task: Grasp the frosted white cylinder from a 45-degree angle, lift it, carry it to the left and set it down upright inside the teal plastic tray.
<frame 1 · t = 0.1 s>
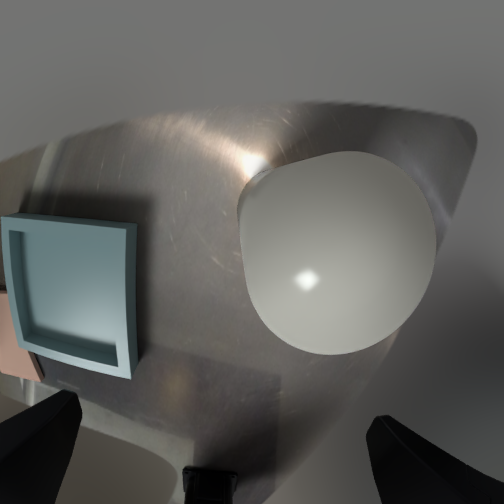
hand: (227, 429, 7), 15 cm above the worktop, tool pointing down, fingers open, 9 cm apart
frosted white cylinder: (280, 211, 20), on the worktop
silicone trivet: (7, 334, 21), on the worktop
tray: (71, 289, 21), on the worktop
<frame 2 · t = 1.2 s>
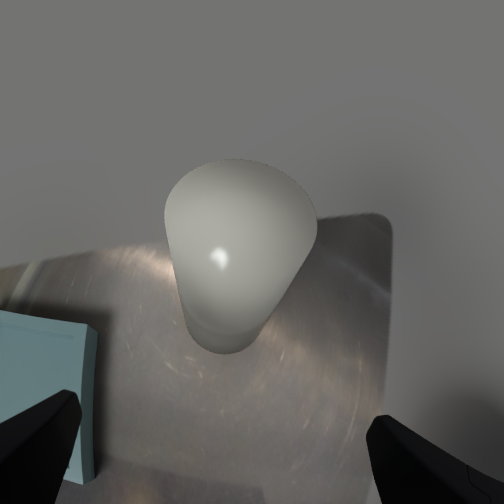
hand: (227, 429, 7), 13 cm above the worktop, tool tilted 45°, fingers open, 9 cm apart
frosted white cylinder: (224, 316, 22), on the worktop
tray: (31, 392, 16), on the worktop
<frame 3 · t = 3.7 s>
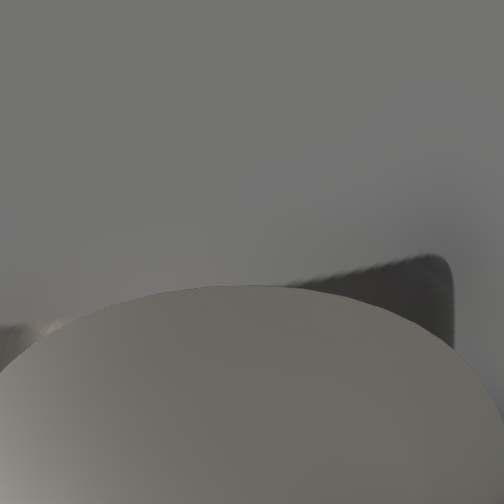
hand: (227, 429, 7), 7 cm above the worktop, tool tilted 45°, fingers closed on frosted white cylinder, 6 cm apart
frosted white cylinder: (218, 445, 12), on the worktop, touching gripper
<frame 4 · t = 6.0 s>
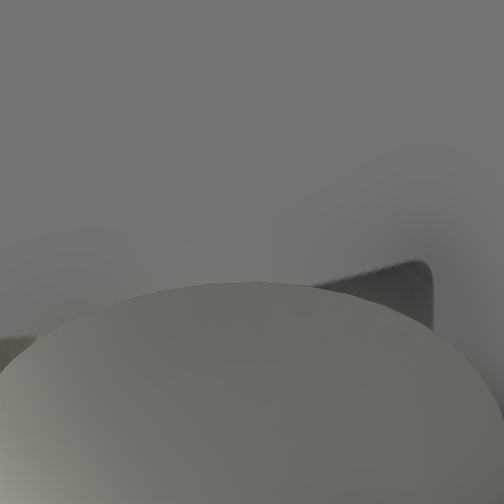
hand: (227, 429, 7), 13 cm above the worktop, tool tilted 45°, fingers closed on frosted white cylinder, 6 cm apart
frosted white cylinder: (218, 445, 12), point 6 cm above the worktop, touching gripper
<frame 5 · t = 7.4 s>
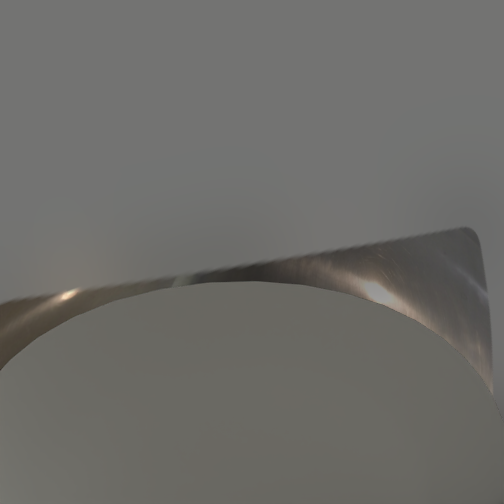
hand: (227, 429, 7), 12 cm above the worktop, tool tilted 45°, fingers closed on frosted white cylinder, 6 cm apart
frosted white cylinder: (218, 445, 12), point 6 cm above the worktop, touching gripper
when the fingers open (9 cm above the worktop, at t = 8.5 s): frosted white cylinder drops 1 cm, resting on tray.
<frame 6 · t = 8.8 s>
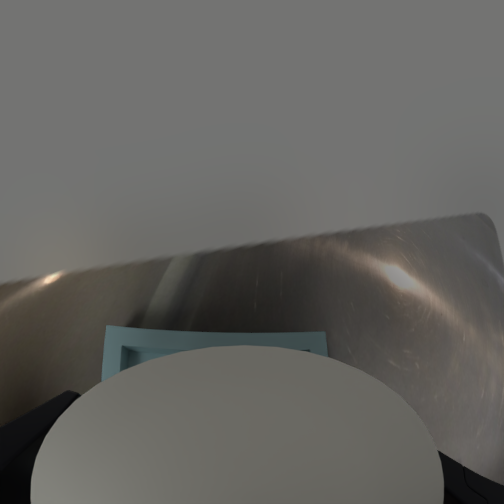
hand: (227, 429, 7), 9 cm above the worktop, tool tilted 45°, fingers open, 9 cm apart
frosted white cylinder: (218, 443, 13), point 1 cm above the worktop, touching tray
tray: (216, 440, 14), on the worktop
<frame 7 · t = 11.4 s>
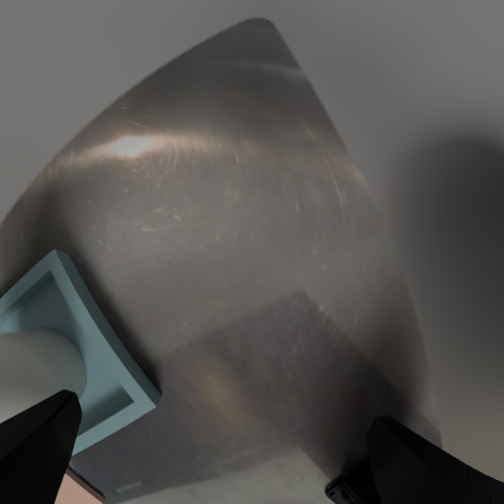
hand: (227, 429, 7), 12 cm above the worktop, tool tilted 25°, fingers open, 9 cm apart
frosted white cylinder: (52, 368, 16), point 1 cm above the worktop, touching tray
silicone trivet: (44, 475, 14), on the worktop
tray: (55, 365, 17), on the worktop
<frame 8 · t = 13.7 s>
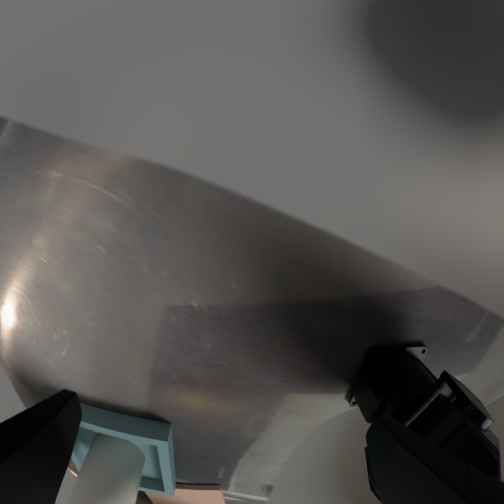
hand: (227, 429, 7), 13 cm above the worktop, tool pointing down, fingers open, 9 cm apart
frosted white cylinder: (118, 451, 23), point 1 cm above the worktop, touching tray
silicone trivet: (185, 495, 27), on the worktop
tray: (120, 446, 24), on the worktop
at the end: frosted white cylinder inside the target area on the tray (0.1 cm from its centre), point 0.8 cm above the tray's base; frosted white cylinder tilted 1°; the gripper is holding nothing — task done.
